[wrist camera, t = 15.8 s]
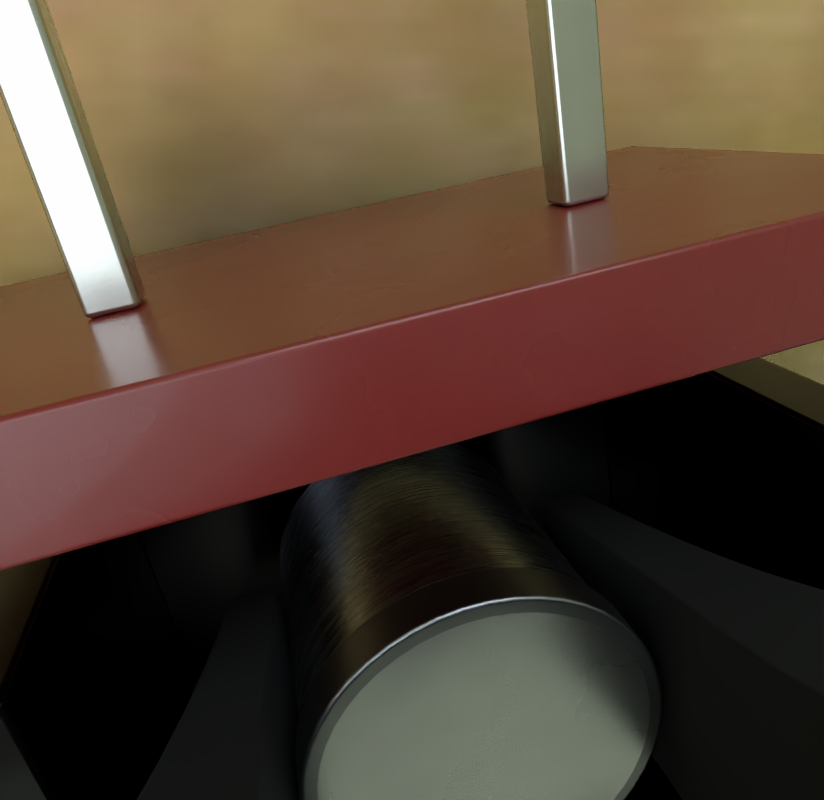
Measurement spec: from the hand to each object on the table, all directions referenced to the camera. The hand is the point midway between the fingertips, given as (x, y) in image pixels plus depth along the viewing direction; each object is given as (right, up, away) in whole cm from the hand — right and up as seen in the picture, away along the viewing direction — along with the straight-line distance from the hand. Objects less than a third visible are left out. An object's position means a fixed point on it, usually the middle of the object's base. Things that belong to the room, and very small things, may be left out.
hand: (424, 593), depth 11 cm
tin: (0, +1, +1) cm, 1 cm away
